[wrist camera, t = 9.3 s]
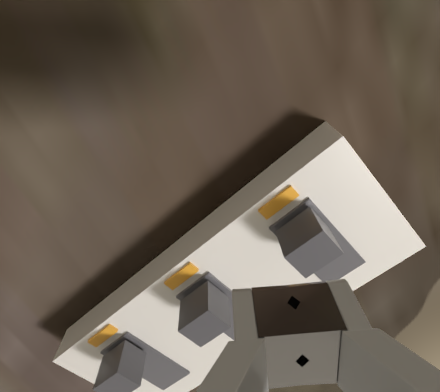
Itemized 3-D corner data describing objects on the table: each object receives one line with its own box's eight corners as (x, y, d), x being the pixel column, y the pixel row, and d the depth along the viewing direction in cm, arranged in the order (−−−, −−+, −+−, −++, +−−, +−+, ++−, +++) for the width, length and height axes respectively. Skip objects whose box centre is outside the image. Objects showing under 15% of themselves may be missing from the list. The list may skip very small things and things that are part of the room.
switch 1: (124, 368, 25) (116, 402, 23) (102, 356, 24) (92, 389, 22) (146, 353, 24) (140, 386, 22) (125, 339, 24) (117, 372, 22)
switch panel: (155, 381, 32) (150, 417, 29) (67, 329, 28) (51, 363, 25) (401, 221, 24) (427, 248, 21) (325, 121, 20) (344, 137, 18)
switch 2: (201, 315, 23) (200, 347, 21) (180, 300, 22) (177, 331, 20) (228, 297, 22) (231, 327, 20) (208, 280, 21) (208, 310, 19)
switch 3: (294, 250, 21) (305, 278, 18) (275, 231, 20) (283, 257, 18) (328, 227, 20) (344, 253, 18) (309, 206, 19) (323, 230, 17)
